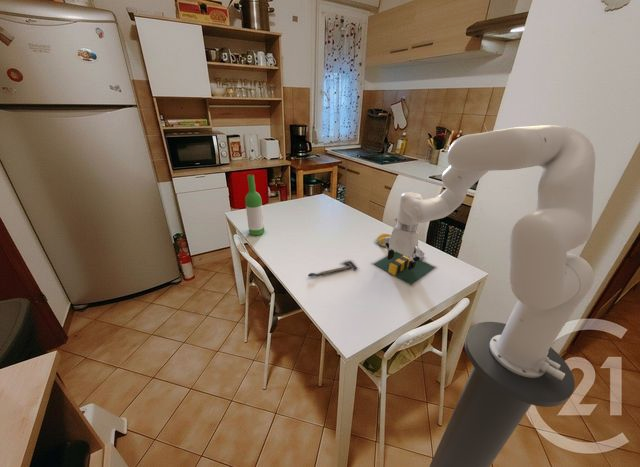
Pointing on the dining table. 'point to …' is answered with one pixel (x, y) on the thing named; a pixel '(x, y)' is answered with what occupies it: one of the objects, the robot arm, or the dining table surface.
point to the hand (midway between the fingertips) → (400, 263)
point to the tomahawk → (334, 270)
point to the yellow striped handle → (400, 264)
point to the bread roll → (382, 239)
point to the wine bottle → (254, 209)
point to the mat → (406, 269)
